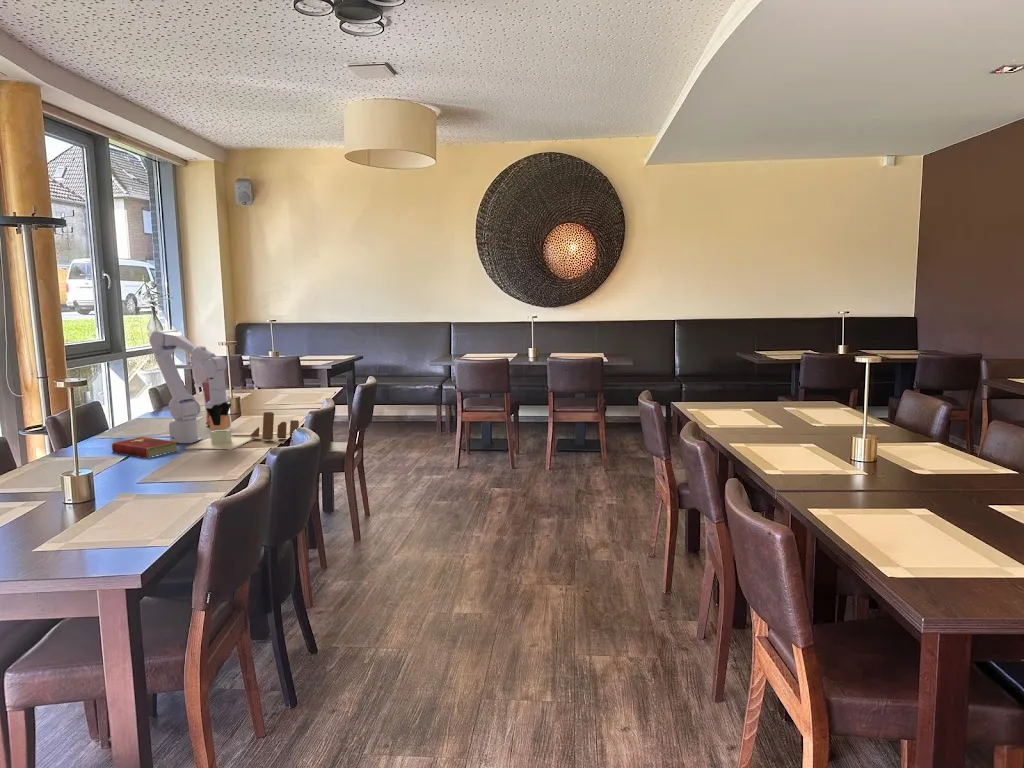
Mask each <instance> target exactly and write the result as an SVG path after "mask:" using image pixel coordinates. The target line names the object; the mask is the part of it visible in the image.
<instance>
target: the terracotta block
mask: <svg viewBox="0 0 1024 768" xmlns="http://www.w3.org/2000/svg"><path fill="white" fill-rule="evenodd" d="M209 420H210V426H209V429H211V430H212V429H213V430H214V429H215V430H227V429H228V428H231V416H230V414H228V415H221V416H220V425H214V424H213V421H212V419H211V417H209Z"/></svg>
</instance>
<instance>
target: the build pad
mask: <svg viewBox="0 0 1024 768" xmlns="http://www.w3.org/2000/svg"><path fill="white" fill-rule="evenodd" d="M231 439H232V442H229V443H227V444H211V437H209V438H207V439H204V440H200V441H199V442H195V443H194V444H191V445H189V446H185V450H199V449H228V450H227V451H233V450H235V449H237V448H239V447H242V446H243V444H244V445H246V444H248V443H249V442H252V441H255V440H256V437H237V436H236V437H235V436H234V437H232V436H231ZM247 442H248V443H247ZM245 443H246V444H245ZM234 448H235V449H234ZM232 449H233V450H232Z"/></svg>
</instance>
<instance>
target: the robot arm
mask: <svg viewBox="0 0 1024 768" xmlns="http://www.w3.org/2000/svg"><path fill="white" fill-rule="evenodd" d="M149 344H150V345H151V348H152V350H153V355H154V358H155V360H156V362H157V365H158V368H159V369H160V372H161V374H162V377H163V379H164V381H165V383H166V386H167V388H168V391H169V393H170V395H171V399H170V401H169V402H168V406H169V412H170V416H171V417H172V418H173V419H171V420H170V422H169V424H168V428H169V429H168V430H169V432H168V433H169V441H175V442H178V443H177V444H193V442H194V443H197V442H198V441H199V442H200V441H202V440H203V437H199V435H198V434H199V433H198V422H197V421H198V420H197V418H199V414H200V412H201V405H200V403H199V402H198V401H197V400H196V398H195V396H194V395H192V394H190V393H189V392H188V391H187V389H186V387H185V385H184V382H183V381H182V380H183V379H182V378H181V376H180V373H179V370H178V368H177V366H176V364H175V361H174V358H173V357H172V355H173V353H174V352H175V351H176V349H177V348H180V349H182V350H183V351H185V352H186V353H188V354H190V355H191V358H192V360H194V361H195V362H197V363H199V364H200V365H202V367H203V368H204V371H205V372H206V377H207V376H208V380H209V394H210V401H209V402H207V403H205V402H204V406H205V405H206V410H207V411H208V413H209V414H210V416H211V419H212V421H213V424H214V425H220V416H221V415H229V412H230V408H231V406H232V403H231V402H232V401H231V399H232V398H231V396H227V392H226V389H227V388H226V377H225V376H226V374H225V370H227V368H228V360H227V359H226V358H225V356H224V355H216V354H215V353H214V352H211V351H210V350H209V349H207V347H206V346H204V345H203V346H201V345H199V346H197V345H195V344H194V343H193V342H192V341H190V340H189V339H188V338H186V337H185V336H184V335H183V332H181V331H179V330H178V329H175V328H172V329H164V330H153V331H152V332H151V334H150V337H149ZM206 410H205V411H206Z"/></svg>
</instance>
